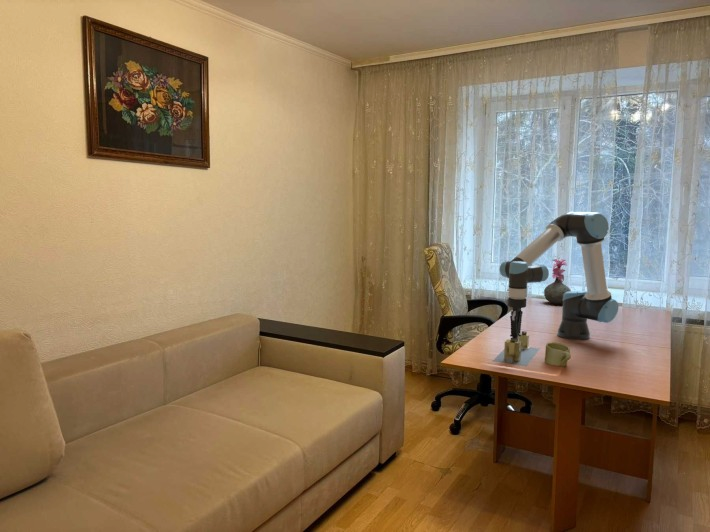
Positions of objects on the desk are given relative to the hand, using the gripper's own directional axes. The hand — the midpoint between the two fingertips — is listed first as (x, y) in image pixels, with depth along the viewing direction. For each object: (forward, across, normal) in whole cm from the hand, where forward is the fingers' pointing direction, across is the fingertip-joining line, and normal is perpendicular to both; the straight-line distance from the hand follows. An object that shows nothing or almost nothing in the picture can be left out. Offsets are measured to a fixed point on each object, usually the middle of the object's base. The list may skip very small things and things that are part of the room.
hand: (514, 351), depth 227 cm
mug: (+4, +1, +18) cm, 18 cm away
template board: (+3, -4, 0) cm, 5 cm away
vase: (+3, -140, -4) cm, 140 cm away
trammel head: (+3, +5, 0) cm, 6 cm away
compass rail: (+3, -4, 0) cm, 5 cm away
